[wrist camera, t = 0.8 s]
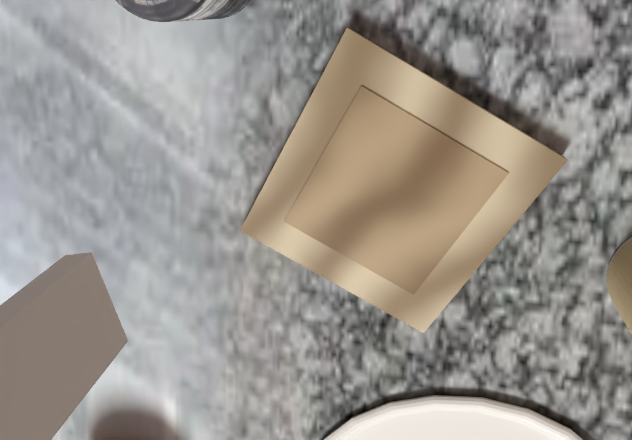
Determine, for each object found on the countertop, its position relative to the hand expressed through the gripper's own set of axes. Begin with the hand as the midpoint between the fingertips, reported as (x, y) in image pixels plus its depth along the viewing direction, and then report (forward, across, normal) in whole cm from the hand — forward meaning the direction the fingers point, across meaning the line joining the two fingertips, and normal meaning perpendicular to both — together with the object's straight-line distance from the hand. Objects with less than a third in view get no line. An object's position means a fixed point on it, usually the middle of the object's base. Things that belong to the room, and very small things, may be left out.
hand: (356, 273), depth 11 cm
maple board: (+22, 0, -6) cm, 23 cm away
